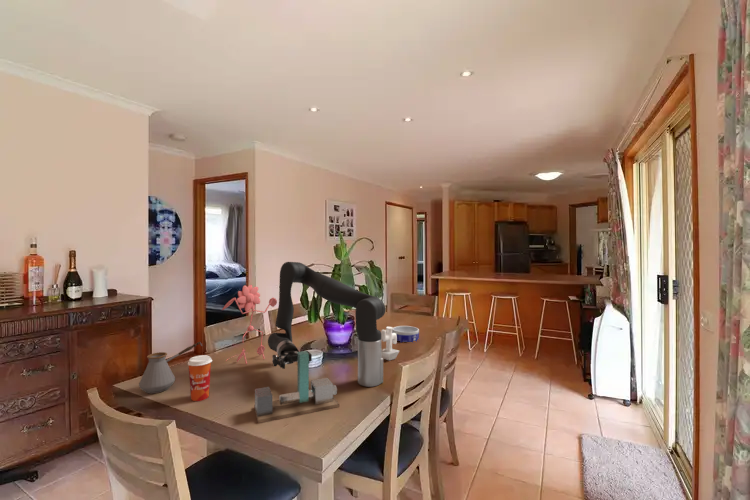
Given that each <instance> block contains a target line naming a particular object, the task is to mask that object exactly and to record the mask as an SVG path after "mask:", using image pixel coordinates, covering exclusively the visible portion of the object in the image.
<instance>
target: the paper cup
mask: <svg viewBox="0 0 750 500" xmlns="http://www.w3.org/2000/svg"><path fill="white" fill-rule="evenodd" d="M212 362H213V359H212V357H211V356H209V355H206V354H204V355H202V354H201V355H195V356H193V357H190V358H189V360H188V362H187V366H188V377H189V389H190V390H189V391H190V400H191V402H192V401H193V402H201V401H205V400H207V399H208V398H210V397H209V396H210V385H211V383H210V382H211V367H212Z"/></svg>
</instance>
